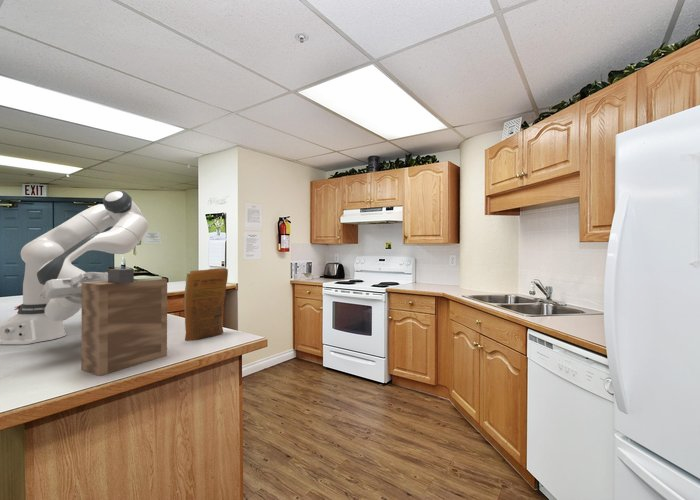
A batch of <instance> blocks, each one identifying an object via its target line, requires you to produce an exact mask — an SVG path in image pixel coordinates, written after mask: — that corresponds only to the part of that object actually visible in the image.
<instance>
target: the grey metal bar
mask: <svg viewBox="0 0 700 500" xmlns="http://www.w3.org/2000/svg"><path fill="white" fill-rule="evenodd" d="M85 273H86V274H87V276H88V279H87V280H92V281H102V282H108V283H117V284H122V283H133V282H134V276H135V274H134V273H135V270H134V268H108V269H107V273H103V272H101V271H100V272H99V271H85Z"/></svg>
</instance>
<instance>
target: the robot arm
mask: <svg viewBox="0 0 700 500" xmlns="http://www.w3.org/2000/svg"><path fill="white" fill-rule="evenodd" d="M108 228H110V229H108ZM148 228H149V222H148V220H147V219H146V218H145V217H144V215H143V213H142V211H141V209H140V208H139V207H138V206H137V204H136V203H135V201H134V200H133V199H132V197H131V195H129V193H127V192H125V190H124V191H123V190H112V191H110V192H108V193H106V194H105V195H104V196H103V198H102V203H98V204H96V205H93V206H90V207H89V208H86V209H84V210H82V211H81V212H79V213H77V214H76V215H74V216H73V217H71V218H69V219H68V220H66V221H64V222H63V223H61V224H60V225H57V226H56V227H54V228H52V229H50V230H47V231H46V233H43V234H42V235H39V236H38V237H36V238H35V239H32V240H31V241H29V242H28V243H26V244H24V245H23V247H22V248H21V249H20V250H21V251H20V257H21V260H22V261H23V262H24V263H25V265H24V267H25V268H24V277H23V282H22V303H21V304H20V305H18V306H14V307H13V308H14V309H13V310H14V311H16V310H17V313H16V314H14V315H13V316H12V317H10V318H8V319H7V320H5V321H4V322H2V323H1V324H0V345H30V344H34V343H39V342H44V341H51V340H55V339H60V338H62V337H64V336H65V337H66V335H67V333H66V330H65V327H64V323H63V321H66V320H68V319H70V318H72V317H73V316H74V315H76V314H77V313H78V312H79V311H80V310H82V283H84V282H97V281H92V280H87V279H88V276H87V274H86V273H85V272H86V271H84V270H83V269H81V268H79V267H77V266H76V265H73V264H72V262H74V261H75V260H76V259H78V258H79V257H81V256H83V254H85V253H86V252H89V251H99V252H104V253H108V254H112V255H113V254H114V255H125V254H128V253H130V252H131V251H132V250H134V248H136V247H137V246H138V244H139V243H140V242H141V240H142V239H143V238H144V236H145V234H146V233H147V230H148ZM107 229H108V230H107ZM105 230H106V231H105ZM102 273H108V271H105V272H102Z"/></svg>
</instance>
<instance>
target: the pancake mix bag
mask: <svg viewBox="0 0 700 500" xmlns="http://www.w3.org/2000/svg"><path fill="white" fill-rule="evenodd" d="M228 274H229V269H228V268H226V267H223V268H222V267H221V268H220V267H217V268H208V269H201V270H200V269H199V270H198V269H196V270H190V271H189V273H186V278H185V286H184V287H185V288H184V297H183V298H184V299H183V301H184V303H183V305H184V325H185V326H184V327H185V328H184V329H185V336H184V341H199V340H202V339H206V338H210V337H214V336H221V335H222V334H223V333H224V328H223V315H224V302H225V297H226V293H227V292H226V291H227V284H228V283H227V282H228V278H229V275H228Z"/></svg>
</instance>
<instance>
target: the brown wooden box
mask: <svg viewBox="0 0 700 500" xmlns="http://www.w3.org/2000/svg"><path fill="white" fill-rule="evenodd" d="M80 337H81V342H80V343H81V344H80V346H81V355H80V356H81V359H80V360H81V368H80V369H81V371H84V372H87V373H90V374H92V375H96V376H99V377H101V376H104V375H107V374H111V373H114V372H117V371H121V370H124V369H128V368H130V366H131V367H134V366H137V365H141V364H143V362H144V363H147V362H150V361H152V360H157V359H159V358H163V357H166V356H168V278H162V276H153V275H134V282H133V283H122V284H117V283H108V282H102V281H97V282H84V283H82V308H81V336H80Z"/></svg>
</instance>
